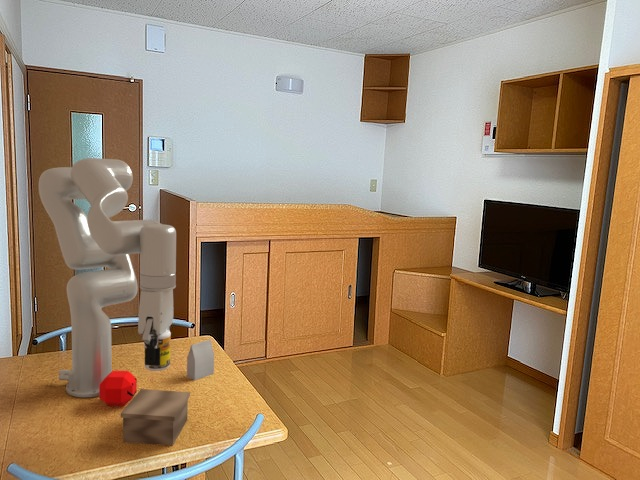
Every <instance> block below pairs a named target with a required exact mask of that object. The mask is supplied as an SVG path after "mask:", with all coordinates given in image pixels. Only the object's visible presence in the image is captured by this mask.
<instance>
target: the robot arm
mask: <svg viewBox="0 0 640 480" xmlns="http://www.w3.org/2000/svg"><path fill="white" fill-rule="evenodd" d="M133 180H134V175H133V171H132V168H130V166H129V164H127V162H125V161H123V160H121V159H116V158H97V157H95V158H94V157H90V158H83V159H80V160H78V161H75V163H74V164H73V165H72V166H69V167H67V166H65V167H52V168H48V169H46V170H44V171H43V172H42V173H41V174H40V176H39V179H38V194H39V198H40V202H41V204H42V205H43V207H44V209H45V211H46V213H47V214H48V216H49V218H50V220H51V222H52V223H53V226H54V229H55V233H56V237H57V240H58V245H59V247H60V251H61V254H62V257H63V260H64V264H65V265H66V266H67V267H68V268H69V269H70V270H76V271H78V270H81V271H82V270H88V269H98V268H99V269H100V268H107V269H101V270H94V271H93V270H92V271H85V272H81V273H78V274H76V275H74V276H72V277H71V278H70V279H69V280H68V282H67V284H66V295H67V301H68V305H69V312H70V322H71V325H70V326H71V365H72V368H71V370H70V369H62V368H61V369H60V370H59V371H58V380H59V381H67V382H68V383H66V385H65V391H66V393H67V394H68V395H70V396H73V397H76V398H95V397H99V385H100V383H101V382H102V381H103V379H104V378H105V377H106V376H107V375H109V374H110V373H111V372H112V371H113V370H112V369H113V368H112V362H113V361H112V322H111V319H110V317H109V316H108V315H107V314H106V313H105V312H104V311H103V310H102V309H103V308H104V307H108V306H112V305H113V306H114V305H117V304H124V303H127V302H130V301H132V300H133V299H135V298H136V296H137V294H138V289H140V290H141V292H140V298H139V307H138V319H137V320H138V324H137V333H138V334H139V335H140V336H141V335H142V341H143V343H144V346H143V347H144V366H145V365H153V366H159V365H160V347H159V339H160V335H161V334H162V333H163V332H164V331H165V330H166V329H167V330H169V331H170V332H171V330H170V328H171V325H172V324H173V320H174V310H175V309H174V289H176V287H177V283H176V281H177V274H176V272H177V230H176V228H175V227H174V226H173V225H170V224H164V223H163V224H162V223H160V222H159V221H157V220H155V219H154V220H153V219H133V220H116V221H115V220H114V221H113V220H111V218H113V217H114V216H116V215H118V214H119V213H120V212H122V211H123V210H124V208H125V207H126V206H127V203H128V200H129V195H128V192H127V191H128V190H130V188H131V187H132V184H133ZM72 200H86V201H87V202H88V203H89V206H90V207H89V209H88V212H87V214H86V213H85V212H84V210H82V208H80V207H79V206H78V205H77V204H76V203H74V202H73V201H72ZM134 254H139V288H138V280H137V276H136V272H135V270H134V266H133V263H132V259H131V257H130V255H134ZM152 331H156V332H157V333H156V334H151V333H152ZM151 336H152V337H156V338H155V341H154V339H151Z"/></svg>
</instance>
